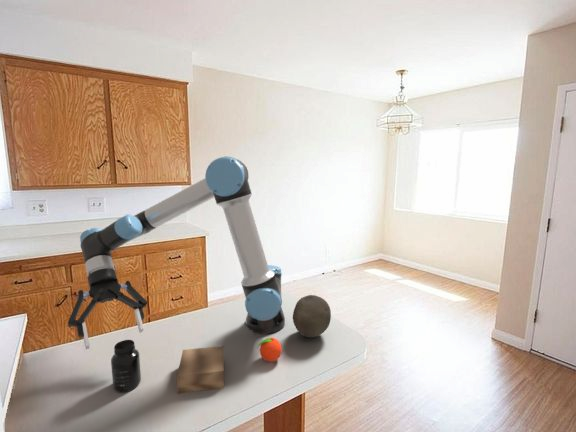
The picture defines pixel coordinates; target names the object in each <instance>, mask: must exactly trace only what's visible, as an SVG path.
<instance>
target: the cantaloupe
mask: <svg viewBox="0 0 576 432" xmlns="http://www.w3.org/2000/svg"><path fill="white" fill-rule="evenodd" d="M331 319H332V313H331V308H330V305H329V303H328V302H327V301H326V299H324V298H323V297H321V296H318V295H314V294H309V295H305V296H302V297H301V298H300V299H299V300H297V302H296V304H295V306H294V309H293V312H292V322H293V325H294V327H295V329H296V330H297V332H298V333H299V334H300V335H302V336H304V337H305V338H316V337H318V336H320V335H322V334H324V332H325V331H327V329H328V328H329V326H330V323H331Z"/></svg>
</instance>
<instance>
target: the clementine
mask: <svg viewBox="0 0 576 432" xmlns="http://www.w3.org/2000/svg"><path fill="white" fill-rule="evenodd" d="M257 348H259V354H260V357H261V358H262V359H264V361H266V362H270V363H271V362H275V361H277V360H278V359H279V358H280V357H281V354H282V352H283V350H282V344H281V343H280V341H279V340H278V339H277V338H275V337H267V338H265V339H264V340H261V342H260V343H259V344H258V346H257Z"/></svg>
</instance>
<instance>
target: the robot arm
mask: <svg viewBox="0 0 576 432" xmlns="http://www.w3.org/2000/svg"><path fill="white" fill-rule="evenodd" d="M204 176H205V177H204V178H203V179H201V180H199V181H197V182H195V183H194V184H191V185H190V186H188V187H185V188H184V189H182V190H180V191H178V192H176V193H174V194H173V195H171V196H169V197H167V198H165V199H164V200H161V201H160V202H158V203H155V204H154V205H152V206H150V207H149V208H147V209H145V210H142V211H141V212H138V213H137V214H134V215H132V214H125V215H123V216H122V217H119V218H117V219H116V220H115V221H114V222H112V223H111V224H109V225H107V226H106V227H105V228H100V227H91V228H90V229H85V230H84V231H83V232H82V233H81V234H80V237H79V239H80V241H79V242H80V249H81V253H82V256H83V260H84V266H85V271H86V275H87V281H88V283H87V284H88V287H89V290H84V291H83V289H82V290H81V289H79V290H78V291H77V299H76V301H75V302H76V303H75V304H74V307H73V309H72V311H71V314H70V316H69V319H68V322H67V327H68V328H72V327H75V328H76V332H77V337H78V339H81V338H83V343H84V348H85V350H89V349H90V344H91V343H90V341H89V334H88V330H87V329H88V328H87V323H86V322H85V321H86V320H87V318H88V317H89V316H90V314H91V313H92V311H93V309H94V308H96V305H97V304H98V303H100V304H105V303H106V302H113V301H114V300H116V301H119V302H121V303H122V304H125V305H126V306H127V307H129V308H131V309H133V310H134V312H133V313H134V316H135V321H136V324H137V328H138V332H139V333H143V331H144V329H145V327H144V324H143V321H144V319H145V314H144V311H143V310H144V309H145V308H146V307H147V305H148V301H147V300H146V298H144V297H143V296H142V295H141V294H140V292H138V291H137V290H136V289H135V288H134V287H133V286H132V283H131V281H130V280H126V281H125V283H120V282H119V281H118V276H117V271H116V270H115V264H114V260H113V257H112V252H114V251H115V250H117V249H119V248H120V247H121V246H123V245H125V244H127V243H128V242H130V241H132V240H134V239H137V238H139V237H141V236H143V235H146V234H148V233H150V232H151V231H153V230H155V229H156V228H158V227H160V226H162V225H165V224H166V223H168V222H170V221H172V220H174V219H175V218H178V217H179V216H181V215H184V214H186V213H187V212H189V211H191V210H192V209H196V208H197V207H198V206H200V205H203V204H204V203H207V202H209V201H210V200H212V199H214V200H215V204H216V205H217V206H219V207H221V208H222V209H223V213H224V215H225V220H226V222H227V225H228V228H229V229H228V230H229V233H230V236H231V239H232V241H233V242H232V243H233V245H234V249H235V251H236V254H237V258H238V261H239V264H240V268H241V271H242V274H243V278H242V279H241V282H240V284H241V287H242V291H243V294H244V297H245V300H244V306H245V310H246V313H247V314H246V317H245V326H246V328H247V329H248V330H250V331H251V332H254V333H258V334H271V333H276V332H279V331H280V330H282V329H283V328H284V326H285V325H286V318H285V315H284V311H283V307H282V305H283V299H282V269H281V267H280V266H277V265H272V264H268V261H267V258H266V253H265V251H264V248H263V245H262V241H261V237H260V234H259V231H258V227H257V224H256V220H255V217H254V213H253V211H252V206H251V204H250V198H251V196H252V195H253V194H252V191H251V190H252V189H251V187H250V182H249V170H248V167H247V166H246V164H244V163H243V162H242V161H241V160H239V159H237V158H235V157H231V156H220V157H218V158H215V159H214V160H212V161H211V162H210V163H209V165H208V166H207V168H206V171H205V175H204ZM121 289H123V290H124V291H125V292H126V293H127V294H129V296H130V297H129V296H127V295H126V294H124V292H122V291H121ZM88 296H89V297H90V298H92V299H91V301H90V302H89V304H88V305H87V307H86V308H85V309H84V310H83V312H82V313H81V314H80V317H78V314H79V311H80V309H81V307H82V304H83V301H84V300H85V299H87V297H88ZM131 297H132V298H131ZM77 317H78V319H77Z"/></svg>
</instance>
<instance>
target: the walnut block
mask: <svg viewBox="0 0 576 432" xmlns="http://www.w3.org/2000/svg"><path fill="white" fill-rule="evenodd" d="M224 350H225V349H224V345H218V346H209V347H200V348H189V349H183V350H182V353H181V357H180V362H179V366H178V370H177V375H176V380H177V381H176V382H177V383H176V384H177V387H176V388H177V394H182V393H190V392H198V391H207V390H213V389H222V388H224V387H225V381H224V380H225V373H224V372H225V371H224V370H225V366H224V365H225V364H224V363H225V362H224V359H225V356H224V354H225V353H224V352H225V351H224Z"/></svg>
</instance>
